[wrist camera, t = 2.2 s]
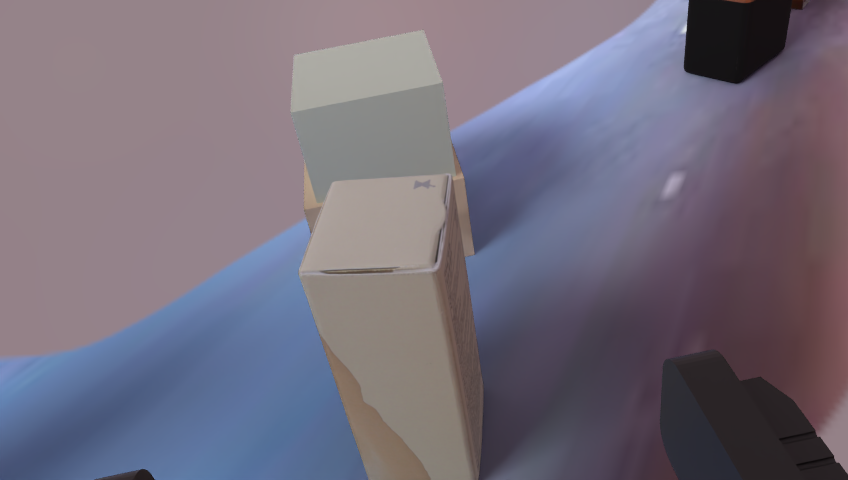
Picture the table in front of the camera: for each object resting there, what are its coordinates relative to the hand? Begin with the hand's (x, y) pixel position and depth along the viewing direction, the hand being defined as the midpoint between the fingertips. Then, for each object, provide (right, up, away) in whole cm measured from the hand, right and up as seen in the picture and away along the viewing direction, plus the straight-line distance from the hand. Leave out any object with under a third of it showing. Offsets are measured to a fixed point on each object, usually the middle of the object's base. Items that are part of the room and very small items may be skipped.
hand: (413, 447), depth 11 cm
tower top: (-2, +8, +27) cm, 28 cm away
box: (0, -5, +18) cm, 18 cm away
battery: (+22, +16, +40) cm, 48 cm away
